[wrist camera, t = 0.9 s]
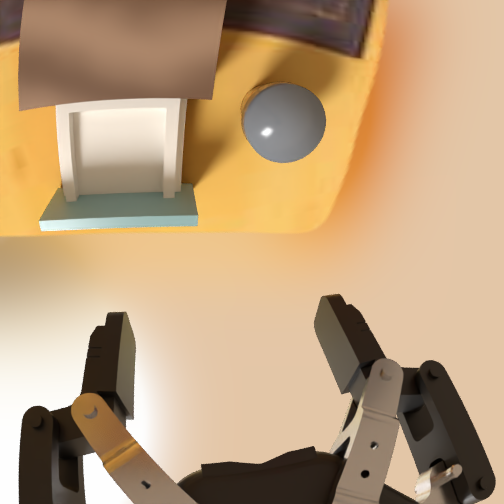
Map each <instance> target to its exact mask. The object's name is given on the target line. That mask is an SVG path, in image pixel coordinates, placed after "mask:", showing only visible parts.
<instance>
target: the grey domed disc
mask: <svg viewBox="0 0 504 504" xmlns="http://www.w3.org/2000/svg"><path fill="white" fill-rule="evenodd" d="M241 124H242V130H243V133H244V135H245V137H246V139H247V140H248V142H249V143H250V144H251V146H252V147H253V148H254V150H255V151H256V152H257V153H258V154H259V155H261V156H262V157H264V158H265V159H268V160H270V161H273V162H278V163H288V162H293V161H297V160H300V159H302V158H304V157H305V156H307V155H308V154H310V153H311V152H312V151H313V150H314V149H315V148H316V147H317V145H318V144H319V143H320V141H321V139H322V137H323V134H324V131H325V126H326V116H325V111H324V108H323V106H322V104H321V102H320V100H319V99H318V98H317V97H316V96H315V95H314V94H313V93H312V92H311V91H309V90H307V89H306V88H303V87H301V86H298V85H295V84H293V83H289V82H273V83H269V84H266V85H264V86H262V87H261V88H259V89H257V90H256V91H255V92H254V93H253V94H252V95H251V96H250V97H249V99H248V100H247V102H246V104H245V106H244V108H243V112H242V118H241Z"/></svg>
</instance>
